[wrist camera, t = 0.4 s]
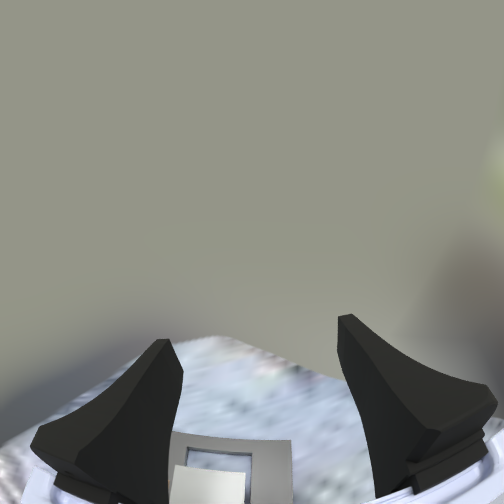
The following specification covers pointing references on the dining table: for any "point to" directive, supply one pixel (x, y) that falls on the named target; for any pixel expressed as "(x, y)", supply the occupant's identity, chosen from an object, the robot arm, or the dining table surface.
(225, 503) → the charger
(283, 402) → the dining table surface
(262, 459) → the grey square frame
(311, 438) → the dining table surface
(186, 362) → the dining table surface
